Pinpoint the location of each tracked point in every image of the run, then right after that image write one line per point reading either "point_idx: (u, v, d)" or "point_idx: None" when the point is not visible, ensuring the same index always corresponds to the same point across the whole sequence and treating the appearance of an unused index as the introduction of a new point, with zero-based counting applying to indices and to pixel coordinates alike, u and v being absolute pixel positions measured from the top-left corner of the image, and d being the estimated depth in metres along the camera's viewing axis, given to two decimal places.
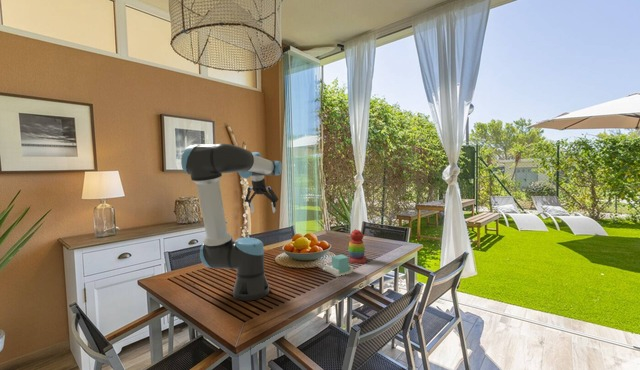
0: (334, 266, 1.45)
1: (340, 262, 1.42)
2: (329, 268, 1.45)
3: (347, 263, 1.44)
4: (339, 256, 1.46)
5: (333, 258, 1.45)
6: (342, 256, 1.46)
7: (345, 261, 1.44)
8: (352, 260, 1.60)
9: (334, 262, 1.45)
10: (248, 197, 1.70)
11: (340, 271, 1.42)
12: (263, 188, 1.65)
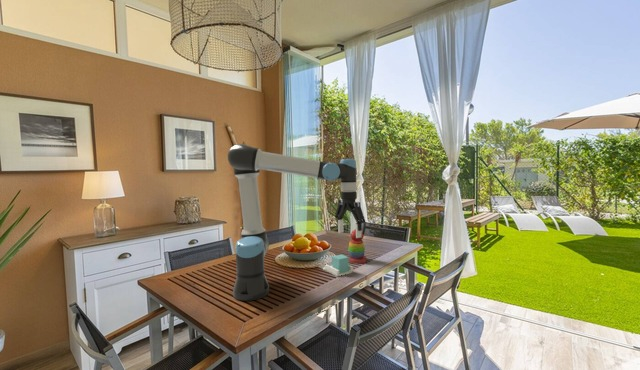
0: (334, 266, 1.45)
1: (340, 262, 1.42)
2: (329, 268, 1.45)
3: (347, 263, 1.44)
4: (339, 256, 1.46)
5: (333, 258, 1.45)
6: (342, 256, 1.46)
7: (345, 261, 1.44)
8: (352, 260, 1.60)
9: (334, 262, 1.45)
10: None
11: (340, 271, 1.42)
12: (351, 203, 1.34)
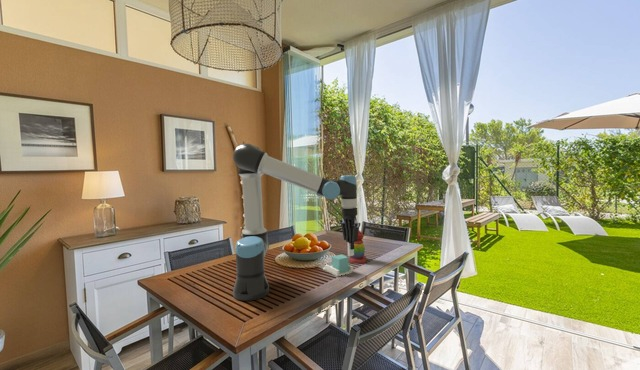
0: (334, 266, 1.45)
1: (340, 262, 1.42)
2: (329, 268, 1.45)
3: (347, 263, 1.44)
4: (339, 256, 1.46)
5: (333, 258, 1.45)
6: (342, 256, 1.46)
7: (345, 261, 1.44)
8: (352, 260, 1.60)
9: (334, 262, 1.45)
10: None
11: (340, 271, 1.42)
12: (352, 219, 1.34)
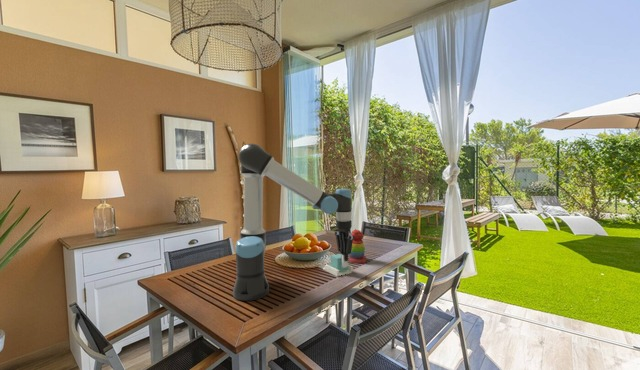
0: (332, 265, 1.46)
1: (338, 261, 1.43)
2: (329, 268, 1.45)
3: None
4: (337, 255, 1.47)
5: (332, 258, 1.46)
6: (340, 255, 1.47)
7: None
8: (352, 260, 1.60)
9: (332, 261, 1.46)
10: None
11: None
12: (346, 232, 1.38)
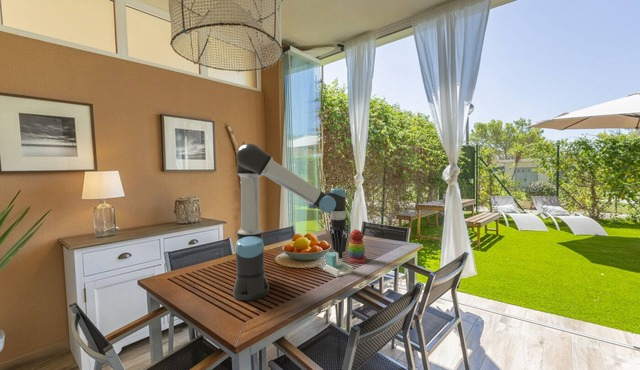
0: (327, 263, 1.50)
1: (333, 259, 1.47)
2: (329, 268, 1.45)
3: None
4: (332, 253, 1.51)
5: (327, 256, 1.50)
6: (335, 253, 1.51)
7: None
8: (352, 260, 1.60)
9: (327, 259, 1.50)
10: None
11: None
12: (340, 230, 1.42)
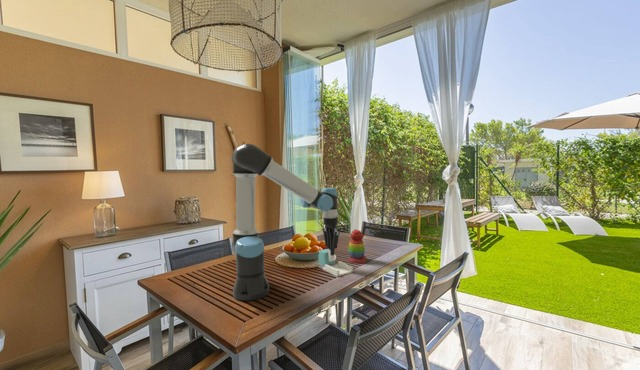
0: (320, 260, 1.56)
1: (325, 256, 1.52)
2: (329, 268, 1.45)
3: None
4: (325, 250, 1.57)
5: (319, 253, 1.56)
6: None
7: None
8: (352, 260, 1.60)
9: (320, 256, 1.56)
10: None
11: (325, 264, 1.53)
12: (332, 228, 1.48)
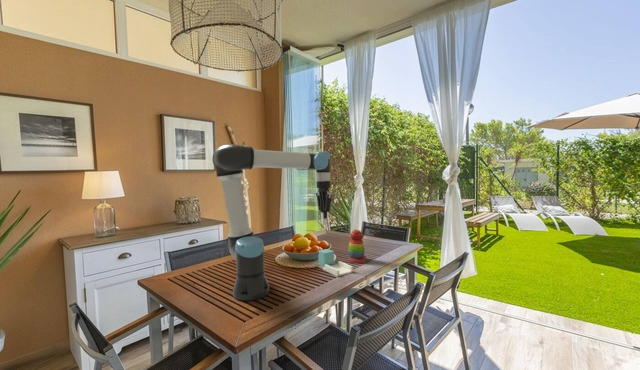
0: (320, 260, 1.56)
1: (325, 256, 1.52)
2: (329, 268, 1.45)
3: (332, 257, 1.55)
4: (325, 250, 1.57)
5: (319, 253, 1.56)
6: (328, 250, 1.57)
7: (330, 254, 1.54)
8: (352, 260, 1.60)
9: (320, 256, 1.56)
10: None
11: (325, 264, 1.53)
12: (325, 191, 1.49)
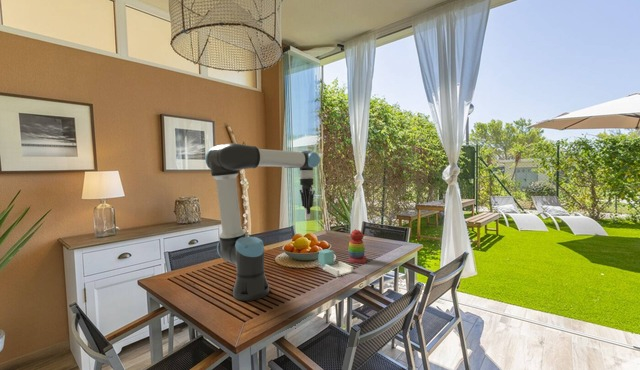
0: (320, 260, 1.56)
1: (325, 256, 1.52)
2: (329, 268, 1.45)
3: (332, 257, 1.55)
4: (325, 250, 1.57)
5: (319, 253, 1.56)
6: (328, 250, 1.57)
7: (330, 254, 1.54)
8: (352, 260, 1.60)
9: (320, 256, 1.56)
10: None
11: (325, 264, 1.53)
12: (308, 188, 1.59)
